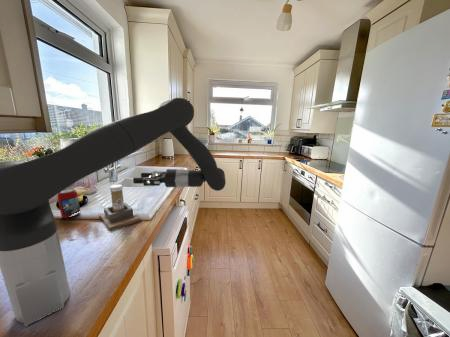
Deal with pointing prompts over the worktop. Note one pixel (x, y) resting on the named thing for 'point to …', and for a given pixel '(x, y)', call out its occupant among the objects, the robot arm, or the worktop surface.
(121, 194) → the sprinkles bottle
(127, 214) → the socket board
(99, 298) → the worktop surface
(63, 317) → the worktop surface
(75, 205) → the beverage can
